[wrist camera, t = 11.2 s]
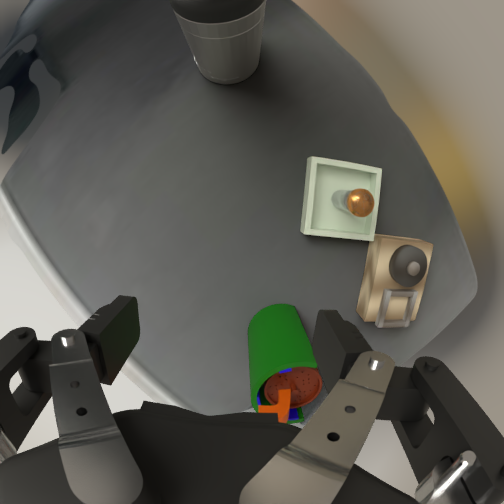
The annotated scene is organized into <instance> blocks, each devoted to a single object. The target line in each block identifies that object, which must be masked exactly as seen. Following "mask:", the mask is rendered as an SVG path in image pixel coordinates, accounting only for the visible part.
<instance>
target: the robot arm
mask: <svg viewBox="0 0 504 504" xmlns="http://www.w3.org/2000/svg"><path fill="white" fill-rule="evenodd" d="M169 1H170V4H171V6H172V8H173V10H174V13H175V15H176V17H177V19H178V21H179V24H180V26H181V28H182V31H183V33H184V35H185V37H186V40H187V42H188V44H189V47H190V49H191V51H192V54H193V56H194V59H195V61H196V63H197V66H198V68H199V70H200V72H201V73H202V75H203V76H204V77H205V78H207V79H208V80H210V81H212V82H215V83H218V84H234V83H238V82H241V81H243V80H245V79H247V78H248V77H250V76H251V75H252V74H253V73H254V72H255V70H256V69H257V66H258V64H259V57H260V49H261V40H262V32H263V23H264V14H265V4H266V0H169ZM139 337H140V324H139V314H138V303H137V299H136V297H131V296H122V295H119V296H118V297H117V298H116V299H115V300H114V301H113V302H112V303H111V304H108V305H106V306H103V307H101V308H99V309H98V310H97V311H96V312H95V313H94V314H93V315H92V316H91V317H90V319H88V320H87V321H86V322H85V323H84V324H83V325H81V326H80V327H79V328H78V329H77V330H76V329H66V330H62V331H59V332H58V333H56V334H54V335H53V337H52V339H51V341H41V340H37V337H36V333H35V331H34V330H33V329H32V328H28V327H21V328H16V329H14V330H12V331H10V332H9V333H8V334H7V335H6V336H4V337H3V338H2V339H1V340H0V504H501V503H502V502H503V501H504V437H503V436H502V435H501V433H500V432H499V431H498V429H497V428H496V427H495V425H494V424H493V423H492V421H491V420H490V419H489V417H488V416H487V415H486V414H485V412H484V411H483V410H482V409H481V407H480V406H479V405H478V403H477V402H476V401H475V400H474V398H473V397H472V396H471V395H470V394H469V392H468V391H467V390H466V389H465V387H464V386H463V385H462V384H461V383H460V381H459V380H458V379H457V378H456V377H455V376H454V374H453V373H452V372H451V371H450V370H449V369H448V367H447V366H446V365H445V364H444V363H443V362H442V361H440V360H438V359H436V358H433V357H426V356H425V357H420V358H418V359H417V360H416V361H415V363H414V366H413V368H406V367H397V366H395V362H394V360H393V359H392V358H391V357H390V356H388V355H387V354H384V353H382V352H378V351H373V350H372V348H371V347H370V345H369V344H368V343H367V341H366V340H365V339H364V338H363V336H362V334H361V333H360V332H359V330H358V329H357V328H356V326H355V325H353V324H352V323H350V322H349V321H344V320H343V319H342V317H341V316H340V314H339V313H338V311H337V310H319V312H318V316H317V321H316V327H315V332H314V337H313V343H312V350H313V355H314V358H315V361H316V363H317V366H318V368H319V371H320V374H321V376H322V379H323V382H324V385H325V387H326V390H327V393H328V396H327V397H326V399H325V400H324V401H323V403H322V404H321V406H320V407H319V408H318V410H317V411H316V412H315V413H314V415H313V416H312V417H311V419H310V420H309V421H308V422H307V424H306V425H305V426H304V427H303V429H301V428H298V427H296V426H293V425H290V424H286V423H282V422H279V420H278V413H254V412H253V413H252V412H241V413H234V414H225V415H215V416H206V415H202V414H199V413H196V412H192V411H189V410H186V409H183V408H180V407H177V406H173V405H166V404H160V403H153V402H148V401H143V404H142V406H141V409H134V410H125V411H120V412H116V413H113V414H112V413H111V410H110V408H109V405H108V403H107V400H106V398H105V395H104V392H103V390H102V387H101V384H100V383H103V384H107V385H112V383H113V381H114V379H115V378H116V376H117V374H118V373H119V371H120V370H121V368H122V366H123V365H124V363H125V362H126V360H127V358H128V357H129V355H130V354H131V352H132V350H133V349H134V347H135V346H136V344H137V342H138V340H139ZM17 371H18V372H19V374H20V377H21V379H22V383H21V384H20V385H19V386H18V388H17V389H16V390H15V391H14V393H13V394H11V391H10V388H9V383H10V379H11V378H12V376H13V375H14V374H15V373H16V372H17ZM51 397H53V404H54V411H55V416H56V422H57V427H58V431H59V438H57V439H55V440H52V441H50V442H48V443H45V444H43V445H40V446H38V447H35V448H32V449H30V450H27V451H25V452H22V453H19V454H17V451H18V449H19V447H20V445H21V444H22V442H23V440H24V439H25V437H26V435H27V434H28V432H29V430H30V429H31V427H32V426H33V424H34V423H35V421H36V419H37V418H38V416H39V415H40V413H41V412H42V410H43V408H44V407H45V406H46V404H47V403H48V401H49V400H50V398H51ZM429 407H430V408H431V410H432V411H433V413H434V417H435V420H434V425H433V423H432V422H431V420H430V418H429V417H428V415H427V411H428V409H429ZM375 419H379V420H391V422H392V424H393V426H394V429H395V431H396V433H397V435H398V437H399V439H400V442H401V444H402V446H403V449H404V450H405V453H406V455H407V457H408V460H409V462H410V464H411V467H412V469H413V471H414V474H415V476H416V479H417V481H418V483H419V485H418V486H417V488H416V491H415V499H414V498H412V497H411V496H409V495H407V494H405V493H403V492H402V491H400V490H398V489H396V488H394V487H392V486H391V485H389V484H387V483H385V482H384V481H382V480H380V479H379V478H377V477H375V476H374V475H372V474H370V473H368V472H367V471H365V470H364V469H362V468H361V467H359V466H357V465H356V464H354V462H355V461H356V458H357V456H358V455H359V453H360V451H361V449H362V447H363V445H364V443H365V441H366V439H367V436H368V434H369V432H370V430H371V428H372V425H373V423H374V421H375Z"/></svg>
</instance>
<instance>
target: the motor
mask: <svg viewBox="0 0 504 504" xmlns="http://www.w3.org/2000/svg"><path fill="white" fill-rule="evenodd" d="M248 348H249V368H250V389H251V403H252V406H253V408H254V410H255V411H256V412H257V413H278V420H279V422H282V423H286V424H292V423H299V422H303V421H304V417H303V413H302V409H301V406H304V405H306V404H308V403H310V402H311V401H313V400H314V399H315V398H316V397H317V396H318V394H319V393H320V391H321V388H322V379H321V376H320V374H319V372H318V369H317V363H316V361H315V358H314V355H313V350H312V346H311V344H310V342H309V339H308V337H307V335H306V332H305V330H304V328H303V325H302V323H301V320H300V318H299V316H298V313H297V311H296V309H295V306H292V305H288V304H275V305H271V306H268V307H266V308H264V309H262V310H261V311H259V312H258V313H257V314H256V315H255V316H254V317H253V319H252V320H251V322H250V324H249V327H248ZM300 399H301V400H300Z"/></svg>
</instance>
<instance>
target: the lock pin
mask: <svg viewBox="0 0 504 504" xmlns="http://www.w3.org/2000/svg"><path fill="white" fill-rule="evenodd" d="M331 201H332V204H333V205H334V206H335V207H336V208H338V209H342V210H345V211H349V212H350V213H351V214H353V215H355V216H358V217H366V216H368V215H369V214H370V213H371V212H372V210H373V208H374V198H373V196H372V194H371V193H370V192H369V191H368V190H366V189H360V188H358V189H354V190H336V191H335V192H334V193H333V194H332V197H331Z"/></svg>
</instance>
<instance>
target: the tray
mask: <svg viewBox="0 0 504 504" xmlns="http://www.w3.org/2000/svg"><path fill="white" fill-rule="evenodd" d="M381 175H382V169H381V168H376V167H371V166H366V165H361V164H356V163H350V162H345V161H339V160H333V159H327V158H320V157H314V156H311V157H309V158H307V168H306V179H305V190H304V200H303V210H302V219H301V228H300V231H301V232H302V233H303V234H306V235H317V236H327V237H337V238H347V239H356V240H366V241H374V235H375V228H376V221H377V213H378V205H379V196H380V186H381ZM358 188H360V189H366V190H368V191H369V192H370V193H371V194H372V196H373V198H374V208H373V210H372V212H371V213H370V214H369V215H368V216H366V217H358V216H355V215H353V214H351V213H350V212H349V211H345V210H342V209H338V208H336V207H335V206H334V205H333V204H332V201H331V197H332V194H333V193H334V192H335V191H336V190H354V189H358Z"/></svg>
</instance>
